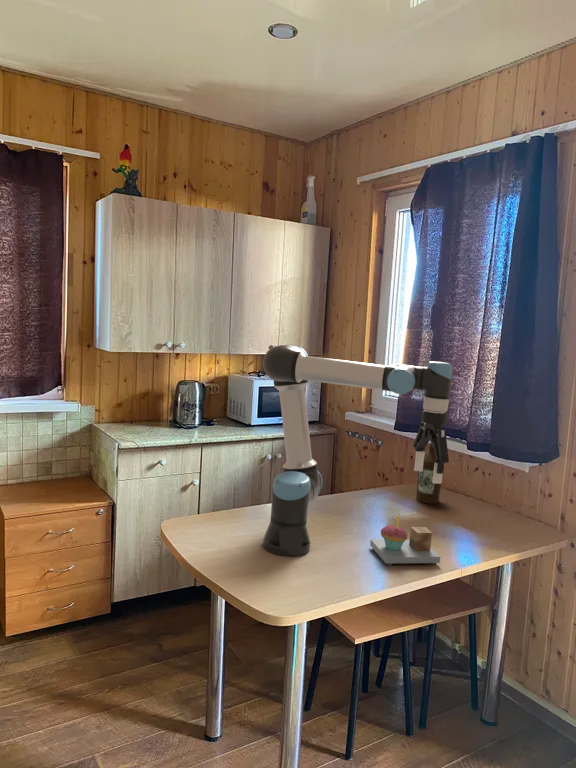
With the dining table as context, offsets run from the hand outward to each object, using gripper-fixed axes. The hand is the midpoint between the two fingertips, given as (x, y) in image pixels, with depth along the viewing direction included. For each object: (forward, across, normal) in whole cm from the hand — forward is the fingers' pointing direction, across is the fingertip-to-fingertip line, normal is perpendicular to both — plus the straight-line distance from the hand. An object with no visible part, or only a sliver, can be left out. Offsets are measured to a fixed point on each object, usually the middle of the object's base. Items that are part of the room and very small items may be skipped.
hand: (427, 476), depth 186 cm
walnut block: (+24, 0, 0) cm, 24 cm away
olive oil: (+27, +57, -30) cm, 70 cm away
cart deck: (+27, 0, +5) cm, 27 cm away
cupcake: (+24, 0, +9) cm, 25 cm away
